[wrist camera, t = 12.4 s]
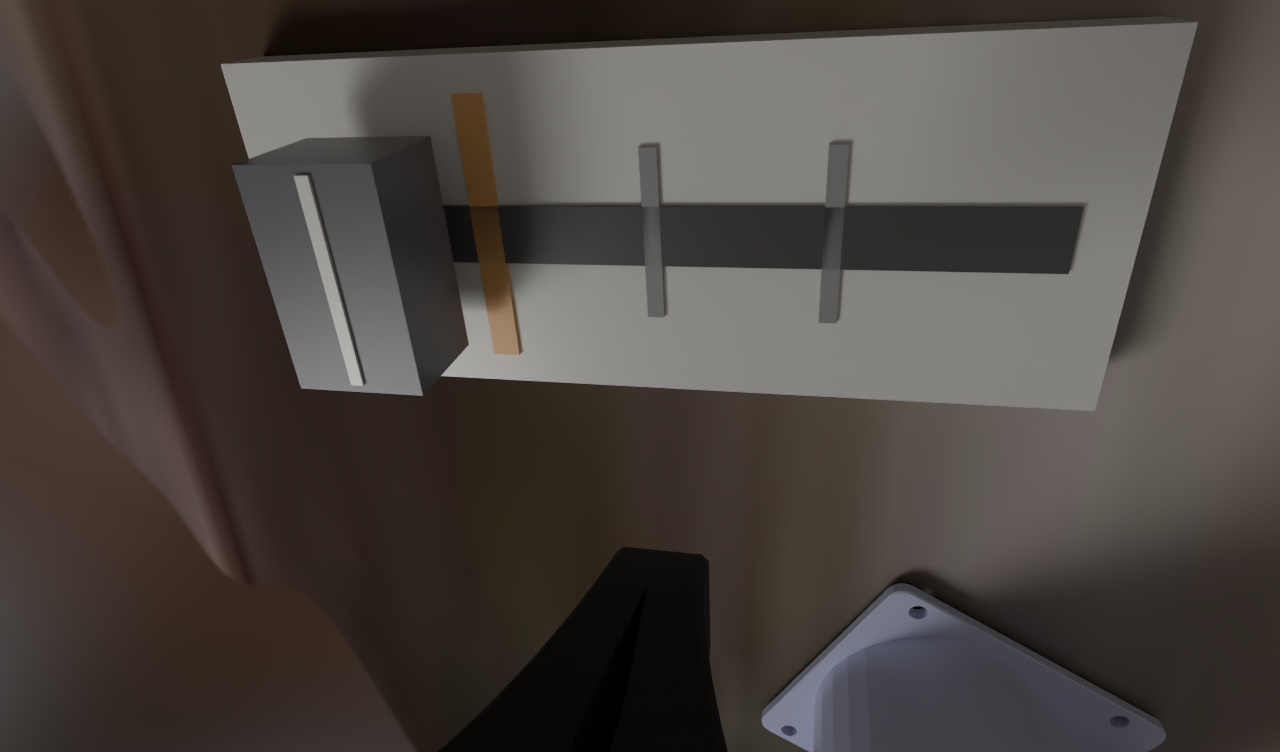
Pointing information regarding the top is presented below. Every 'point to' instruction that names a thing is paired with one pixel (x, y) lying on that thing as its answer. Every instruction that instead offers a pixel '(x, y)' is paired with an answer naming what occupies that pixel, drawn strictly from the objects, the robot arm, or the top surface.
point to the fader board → (777, 200)
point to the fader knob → (357, 260)
